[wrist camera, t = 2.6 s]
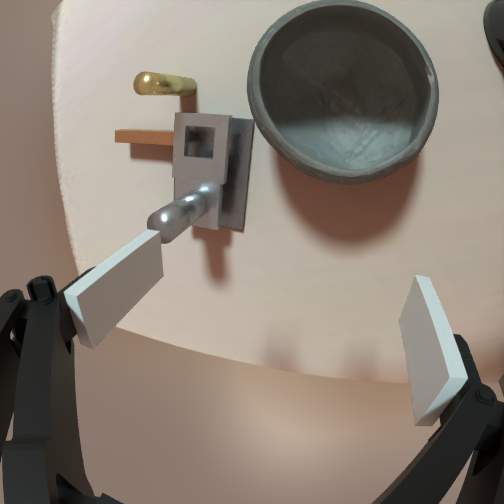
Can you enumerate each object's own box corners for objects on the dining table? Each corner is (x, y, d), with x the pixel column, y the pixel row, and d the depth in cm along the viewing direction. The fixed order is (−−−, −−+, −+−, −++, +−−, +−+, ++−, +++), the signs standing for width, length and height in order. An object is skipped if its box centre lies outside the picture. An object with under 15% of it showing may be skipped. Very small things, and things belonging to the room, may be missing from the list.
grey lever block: (130, 111, 45) (65, 119, 32) (254, 116, 41) (214, 118, 28) (130, 206, 53) (74, 237, 40) (243, 227, 49) (206, 272, 36)
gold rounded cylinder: (180, 78, 41) (134, 72, 30) (197, 77, 40) (154, 70, 30) (178, 96, 42) (132, 95, 32) (195, 96, 42) (152, 94, 31)
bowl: (247, 51, 37) (205, 26, 24) (385, 14, 29) (404, -29, 16) (295, 183, 44) (275, 216, 31) (432, 152, 36) (473, 171, 23)
